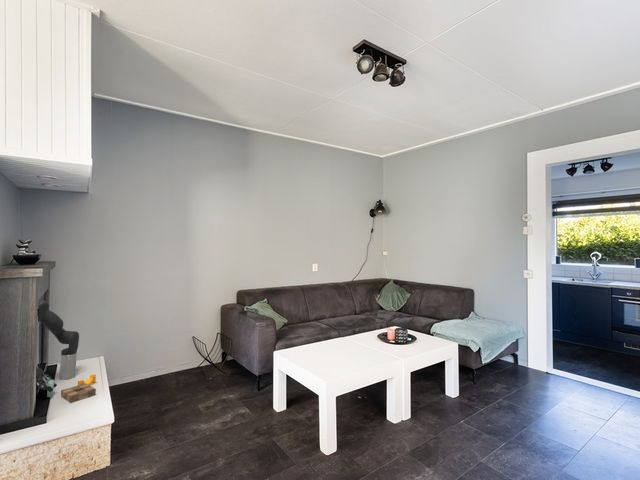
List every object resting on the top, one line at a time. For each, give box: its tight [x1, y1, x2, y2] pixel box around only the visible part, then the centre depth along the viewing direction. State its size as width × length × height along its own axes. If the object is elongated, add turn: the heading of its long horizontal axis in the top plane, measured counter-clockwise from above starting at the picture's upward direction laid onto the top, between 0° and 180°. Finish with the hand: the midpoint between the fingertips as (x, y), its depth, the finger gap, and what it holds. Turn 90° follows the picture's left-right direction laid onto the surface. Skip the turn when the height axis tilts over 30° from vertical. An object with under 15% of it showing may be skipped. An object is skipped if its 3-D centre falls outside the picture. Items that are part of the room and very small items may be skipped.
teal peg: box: [46, 379, 55, 398], centre depth 215 cm, size 3×3×10 cm
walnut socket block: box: [60, 383, 97, 404], centre depth 218 cm, size 14×14×4 cm
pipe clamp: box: [77, 373, 97, 387], centre depth 231 cm, size 12×4×6 cm, turn 171°
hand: (53, 388), depth 215 cm, fingers open, 6 cm apart
